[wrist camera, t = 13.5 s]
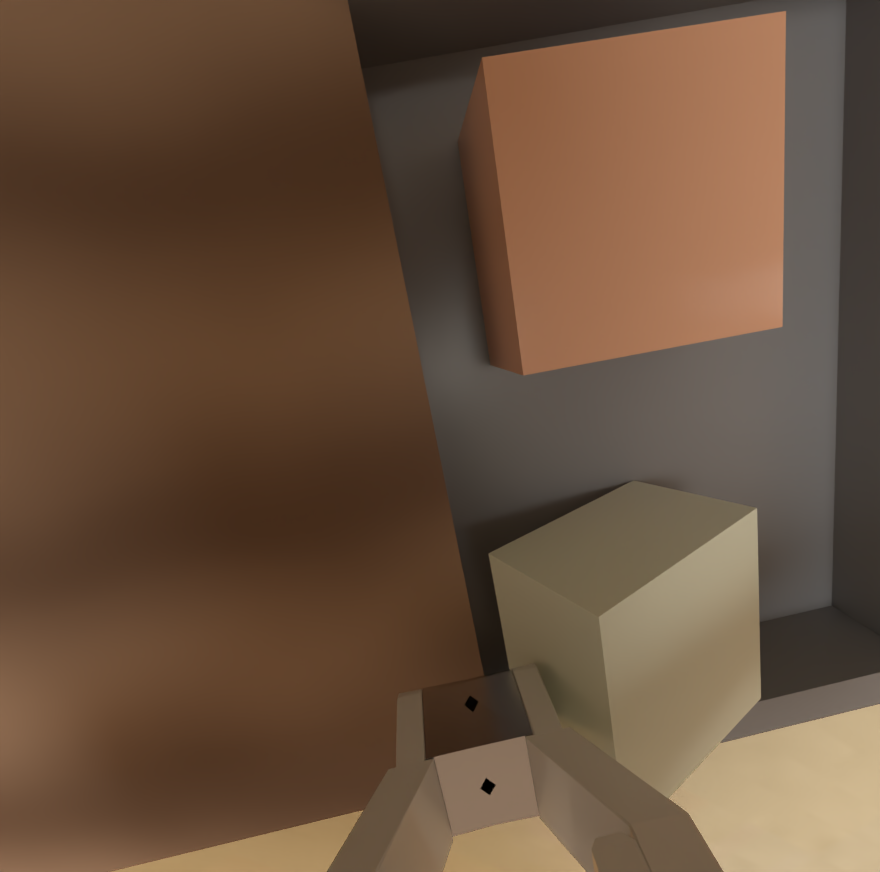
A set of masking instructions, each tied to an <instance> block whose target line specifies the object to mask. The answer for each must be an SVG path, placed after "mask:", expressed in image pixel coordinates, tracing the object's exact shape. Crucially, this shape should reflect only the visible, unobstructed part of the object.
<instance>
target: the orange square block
mask: <svg viewBox="0 0 880 872" xmlns="http://www.w3.org/2000/svg"><path fill="white" fill-rule="evenodd" d="M785 50H786V11H782V12H775V13H769V14H762V15H756V16H749V17H743V18H736V19H730V20H723V21H717V22H710V23H704V24H697V25H691V26H684V27H677V28H671V29H664V30H658V31H651V32H645V33H638V34H632V35H625V36H619V37H612V38H606V39H599V40H593V41H586V42H580V43H573V44H566V45H560V46H553V47H547V48H540V49H534V50H527V51H521V52H514V53H508V54H501V55H495V56H488V57H482V59H481V63H480V66H479V69H478V73H477V76H476V80H475V83H474V87H473V90H472V94H471V97H470V101H469V104H468V107H467V111H466V114H465V118H464V121H463V125H462V128H461V132H460V135H459V139H458V148H459V154H460V161H461V168H462V175H463V182H464V188H465V195H466V202H467V209H468V216H469V222H470V229H471V236H472V243H473V250H474V256H475V263H476V270H477V277H478V284H479V290H480V297H481V304H482V311H483V318H484V325H485V331H486V338H487V345H488V352H489V359H490V365H492V366H495V367H498V368H501V369H504V370H508V371H511V372H514V373H517V374H520V375H529V374H534V373H539V372H545V371H550V370H555V369H561V368H566V367H571V366H577V365H582V364H587V363H593V362H598V361H603V360H609V359H614V358H619V357H625V356H630V355H635V354H641V353H646V352H651V351H657V350H662V349H667V348H673V347H678V346H683V345H689V344H694V343H699V342H704V341H710V340H715V339H720V338H726V337H731V336H736V335H742V334H747V333H752V332H758V331H763V330H768V329H774V328H779V327H783V238H784V144H785Z"/></svg>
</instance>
